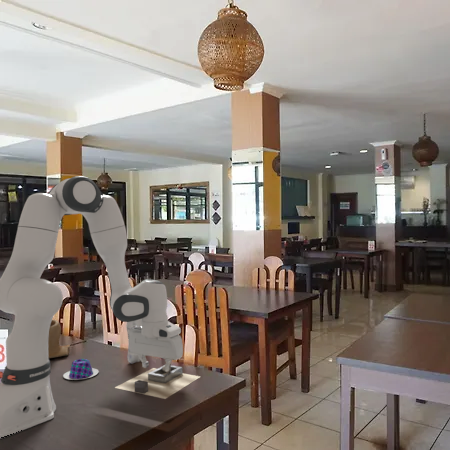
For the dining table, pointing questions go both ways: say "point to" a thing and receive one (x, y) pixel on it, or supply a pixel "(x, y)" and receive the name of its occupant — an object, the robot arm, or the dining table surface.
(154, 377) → the steel link
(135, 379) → the board
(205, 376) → the dining table surface
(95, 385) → the dining table surface
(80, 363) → the plaid fedora hat
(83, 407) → the dining table surface
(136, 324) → the plastic bottle
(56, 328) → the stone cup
